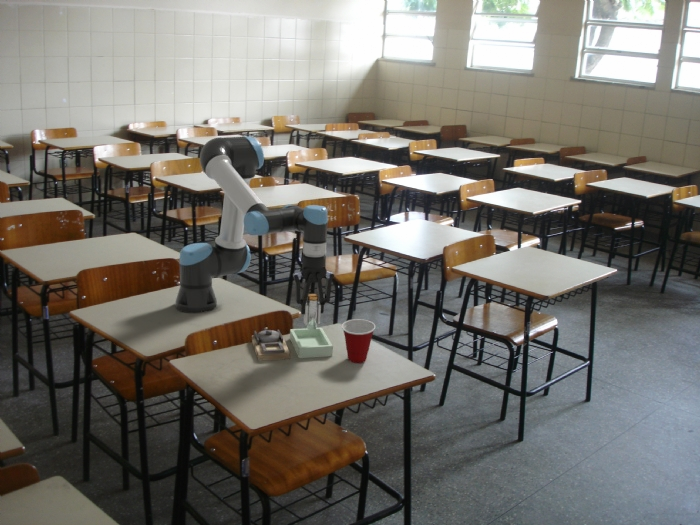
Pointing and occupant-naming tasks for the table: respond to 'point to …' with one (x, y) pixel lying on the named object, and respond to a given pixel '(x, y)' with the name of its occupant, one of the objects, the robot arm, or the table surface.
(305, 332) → the tray
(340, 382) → the table surface
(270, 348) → the pulley block
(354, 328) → the plastic cup
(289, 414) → the table surface
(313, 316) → the glass bottle
